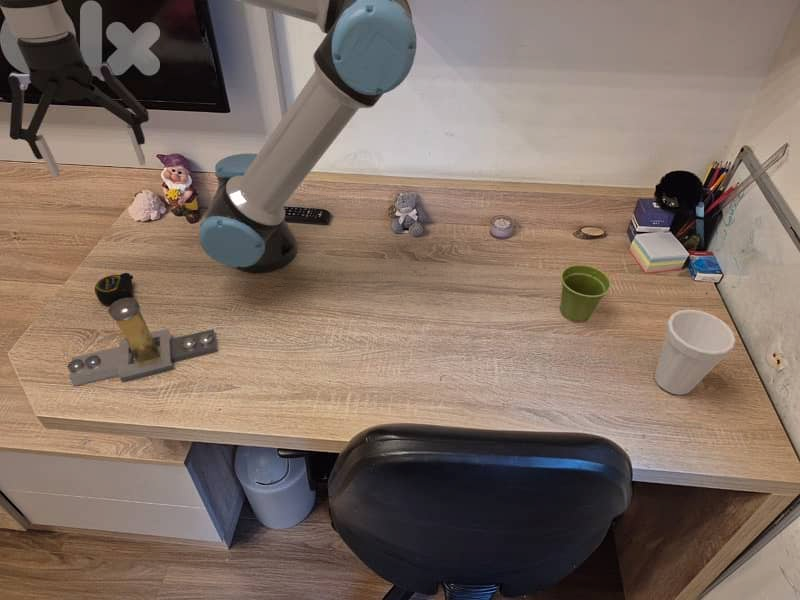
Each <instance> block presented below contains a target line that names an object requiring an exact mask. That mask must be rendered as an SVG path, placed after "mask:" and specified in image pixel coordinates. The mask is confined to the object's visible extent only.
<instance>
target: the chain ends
mask: <svg viewBox="0 0 800 600" xmlns="http://www.w3.org/2000/svg"><path fill="white" fill-rule="evenodd" d="M150 333H151V335H152V338H153V340H154V342H155V344H156V346H157V347H160V348H159V352H160V355H161V356H160V357H159V358H155V359H151V360H146V361H142V362H135V363H133V358H134V355H133V353H132V351H131V349H130V347H129V345H128V343H127V342H126V340H125V338H122V339H119V344H118V346H115V347H112V348H107V349H103V350H98V351H94V352H90V353H85V354H82V355H77V356H72V357H71V361H70V362H69V363H68V364H67V368H68V370H69V371H70V372H69V380H70V381H71V383H72V385H73V386H74V387H77V386H78V387H79V386H80V385H85V384H90V383H93V382H98V381H102V380H106V379H110V378H114V377H119V378H120V380H121V382H122V383H124V382H128V381H133V380H136V379H140V378H145V377H148V376H153V375H157V374H161V373H165V372H168V371H172V370H175V366H174V365H175V364H174V363H175V362H180V361H183V360H189V359H192V358H196V357H200V356H204V355H208V354H212V353H216V352H218V344H217V338H216V332H215V329H207V330H204V331H200V332H195V333H190V334H187V335H184V336H179V337H174V338H173V336H172V335H173V334H172V333H171V331H170V329H169V328H164V329H161V330H157V331H156V330H155V331H152V332H150Z"/></svg>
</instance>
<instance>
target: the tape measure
mask: <svg viewBox="0 0 800 600" xmlns="http://www.w3.org/2000/svg"><path fill="white" fill-rule="evenodd" d="M133 279H134V276H133V275H132V274H130V273H129V272H123V273H121V274H111V275H107V276H105V277H103V278H101V279H99V280H98V281H97V283H96V284H95V285H94V294H95V295H96V298H97V299H98V301H99V302H100V303H103V305H106V306H107V305H109V306H110V305H111V304H112V303H114V302H115V301H117V300H119V299H122V298H133V297H132V296H133V294H132V288H133V287H132V286H133Z"/></svg>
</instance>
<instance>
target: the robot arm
mask: <svg viewBox="0 0 800 600" xmlns="http://www.w3.org/2000/svg"><path fill="white" fill-rule="evenodd" d="M235 1H236V2H240V3H243V4H246V5H250V6H253V7H257V8H261V9H264V10H267V11H271V12H275V13H278V14H281V15H285V16H289V17H292V18H295V19H299V20H302V21H305V22H309V23H313V24H316V25H317V26H318V28H319V29H320V31H321V32H322V33H323V34H324V33H325V34H326V35H325V36H324V38H323V40H322V41H321V43H320V44H319V46H318V47H317V48H316V50H315V52H314V53H313V55H312V60H313V63H314V72H313V74H312V75H311V77H310V78H309V79H308V80H307V82H306V84H305V85H304V86H303V88H302V89H301V91H300V93H298V95H297V96H296V98H295V100H294V101H293V103H292V104H291V105H290V107H289V108H288V110H287V111H286V113H285V115H283V117H282V119H281V120H280V121H279V123H278V124H277V125H276V127H275V129H274V130H273V131H272V133H271V134H270V136H269V137H268V138H267V140H266V142H265V143H264V145H262V147H261V149H260V150H259V151H258V153H252V152H251V153H250V152H249V153H238V154H233V155H229V156H226V157H224V158H222V159H220V160H218V162H217V163H216V164H215V167H214V171H215V177H216V180H217V181H218V182H217V185H218V186H217V190H215V194H214V195H213V198H212V200H211V202H210V204H209V207H208V209H207V211H206V214H205V215H204V218H203V219H202V221H201V222H200V225H199V232H198V242H199V244H200V246H201V248H202V249H203V250H202V251H204V253H205V254H206V255H207V256H208V257H209V258H210V259H212V260H214V261H215V262H217V263H219V264H221V265H224V266H226V267H231V268H236V269H238V270H240V271H241V272H244V273H245V272H246V273H251V274H263V273H264V274H265V273H269V272H274V271H277V270H278V269H281V268H283V267H285V266H286V265H288V264H289V263H290V262H291V261H293V260H294V258H295V257H296V254H297V251H298V247H297V242H296V238H295V235H294V233H293V232H292V230H291V229H290V227H289V226H288V224H287V222H286V220H285V217H286V210H285V204H286V203H287V202H288V201H289V199H290V198H291V196H292V195H294V193H295V192H296V190H297V189H298V188H299V187H300V185H301V184H302V183H303V181H304V180H305V179H306V177H307V176H308V175H309V174H310V172H311V171H312V170H313V168H314V167H315V166H316V164H317V163H318V162H319V161H320V160H321V158H322V157H323V156H324V155H325V153H326V152H327V150H328V149H329V148H330V147H331V145H332V144H333V143H334V141H335V140H336V139H337V138H338V136H339V135H340V134H341V133H342V131H343V130H344V128H345V127H346V126H347V125H348V123H349V122H350V121H351V120H352V118H353V117H354V116H355V114H356V113H357V112H358V111H359V109H368V108H369V109H370V108H373V107H374V106H375V105H376V104H377V102H378V101H379V100H380V99H381V97H382V96H383V95H384V94H386V93H389V92H390V91H393V90H395V89H396V88H398V86H400V85H401V84H402V83H403V82H404V81H405V79H406V78H407V77H408V75H409V73H410V72H411V69H412V67H413V65H414V61H415V57H416V51H417V34H416V32H417V31H416V29H415V24H414V22H413V16H412V10H411V7H410V5H409V4H410V3H409V2H408V0H235ZM0 9H1V11H2V13H3V15H4V18H5V20H6V23H7V24H8V26H9V30H10V32H11V34H12V35H13V36H14V37H15V38H18V39H17V41H16V44H17V47H18V49H19V52H20V53H21V56H22V58H23V59H24V62H25V64H26V67H27V69H28V70H29V71H28V72H29V73H19V72H17V71H12V72H10V75H9V76H8V79H7V81H8V84H9V88H10V90H11V92H12V93H11V94H12V95H11V108H10V109H11V111H10V123H9V124H10V125H9V137H10V138H11V139H12V140H15V141H17V140H23V141H26V142H27V143H28V145H29V147H30V149H31V151H32V153H33V156H34V157H35V158H36V159H37V160H38V161H39V160H43V161H44V163H45V165H46V167H47V169H48V171H49V173H50V176H51V177H52V179H53V180H55V179H59V177H60V171H61V170H60V168H59V166H58V164H57V162H56V159H55V157H54V155H53V154H52V151H51V149H50V146H49V145H48V142H47V141H46V138H45V137H44V135H43V134H42V133H41V134H38V133H39V132H38V131H39V129H40V127H41V124H42V122H43V120H44V118H45V116H46V114H47V111H48V110H49V107H50V105H51V103H52V101H53V100H54V101H58V102H59V103H66V102H68V101H70V100H71V101H82V100H83V99H84V98H85V97H86V99H88V100H90V101H92V102H94V103H96V104H98V105H99V106H100V107H102V108H103V109H105V110H107V111H109V112H110V113H111V114H112V115H114V116H116V117H117V118H119V119H121V120H122V121H123V122H125V123H126V125H127V132H128V135H129V138H130V141H131V143H132V146H133V149H134V152H135V154H136V156H137V157H136V158H137V160H138V163H139V165H140V166H145V165H146V157H145V154H144V152H143V149H142V146H141V145H146V144H145V143H146V137H145V134H144V131H143V129H142V126H141V125H142V124H143V123H148V121H149V120H150V118H149V117H150V116H149V111H148V110H147V109H146V108H145V107H144V106H143V105H142V103H141V102H140V101H139V100H138V99H137V98H136V97H135V96H134V94H132V93H131V91H129V89H127V88H126V87H125V85H124V84H123V83H122V82H121V81H120V80H119V79H118V78H117V77H116V75H115V74H114V72H113V70H112V67H111V65H110V64H109V63H108V62H107V61H103V62H101V63H100V64H99V65H95V66H91V67H90V66H89V65H88V64H87V63H86V61H85V58H84V56H83V54H82V52H81V48H80V46H79V43H78V41H77V39H76V35H75V34H74V33H73V32H72V31H70V30H71V29H72V25H71V23H70V20H69V17H68V15H67V12H66V10H65V7H64V5H63V2H62V0H0ZM93 77H97V78H98V79H99V80H100V81H102V82H105V83H106V84H107V86H108V87H109V88H110V89H111V90H112V92H114V93H115V94H116V95H117V97H118V98H119V99H120V100H122V102H123V103H124V105H126V106H127V107H128V108H129V109H130V110H129V109H127V108H126V107H124V105H122V104H121V103H119V102H117V101H116V100H115V99H113V98H112V97H111V96H109V95H107V94H106V93H104V92H103V91H101V89H100V88H99V87H98V86H96V85H95V84H94V83H92V81H93V80H92V79H93ZM29 84H31V85H33V86H34V87H36V88H37V89H38V90H40V91H41V92H42V95H41V98H40V100H39V103H38V104H37V106H36V109H35V111H34V114H33V116H32V118H31V121H30V122H29V125H28V127H27V128H23V116H24V103H25V91H26V90H28V87H29ZM37 134H38V135H37Z"/></svg>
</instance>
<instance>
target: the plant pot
mask: <svg viewBox="0 0 800 600" xmlns="http://www.w3.org/2000/svg"><path fill="white" fill-rule="evenodd" d="M560 282H561V295H560V304H559V310H560V313H561V315H562V316H563V318H565V319H566V320H568V321H570V322H574V323H579V322H583V323H584V322H587V321H589V320H590V319H591V317H592V315H593V313H594V312H595V310H596V309H597V308H598V307H597V306H598V304H599V303H600V301H601V300H602V298H604V297H605V295H607V294H608V293H609V292H610V291H611V288H612V281H611V278H610V277H609V276H608V275H607V273H606V272H604V271H603V270H602V269H599V268H597V267H596V266H592V265H589V264H579V263H578V264H573V265H569V266H566V267H565V268H564V269H563V270H562V271H561V273H560Z"/></svg>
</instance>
